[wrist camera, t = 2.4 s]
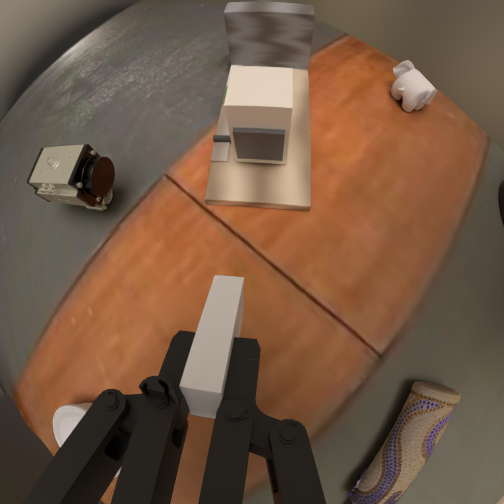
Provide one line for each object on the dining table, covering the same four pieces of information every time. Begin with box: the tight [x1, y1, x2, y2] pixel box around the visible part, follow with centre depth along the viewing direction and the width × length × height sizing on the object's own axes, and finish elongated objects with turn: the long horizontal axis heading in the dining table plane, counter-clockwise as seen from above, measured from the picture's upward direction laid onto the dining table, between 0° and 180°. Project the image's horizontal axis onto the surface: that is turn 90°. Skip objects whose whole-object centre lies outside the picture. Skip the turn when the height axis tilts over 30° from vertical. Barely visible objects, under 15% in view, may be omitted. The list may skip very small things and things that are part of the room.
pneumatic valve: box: [27, 144, 115, 211], centre depth 27 cm, size 6×12×12 cm, turn 79°
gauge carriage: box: [213, 66, 293, 165], centre depth 27 cm, size 9×8×10 cm
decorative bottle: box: [349, 381, 461, 504], centre depth 20 cm, size 26×8×7 cm, turn 156°
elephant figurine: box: [391, 60, 438, 112], centre depth 31 cm, size 8×10×7 cm
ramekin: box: [53, 403, 122, 478], centre depth 24 cm, size 11×11×5 cm
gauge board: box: [205, 2, 315, 211], centre depth 28 cm, size 12×28×12 cm, turn 175°
